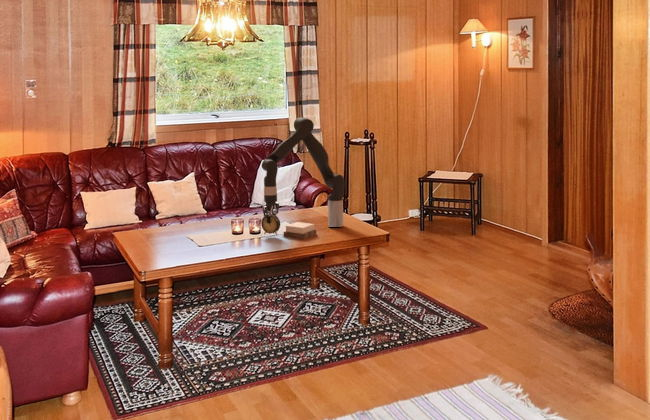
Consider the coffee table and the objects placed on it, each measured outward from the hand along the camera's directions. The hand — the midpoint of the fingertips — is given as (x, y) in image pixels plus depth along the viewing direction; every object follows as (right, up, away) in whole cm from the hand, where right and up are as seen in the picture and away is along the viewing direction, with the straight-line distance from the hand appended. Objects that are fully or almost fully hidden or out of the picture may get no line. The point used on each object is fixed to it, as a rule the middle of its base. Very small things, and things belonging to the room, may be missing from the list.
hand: (271, 222), depth 417 cm
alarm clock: (0, -7, +1) cm, 8 cm away
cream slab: (+17, -5, +4) cm, 18 cm away
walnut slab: (+17, -9, +4) cm, 19 cm away
